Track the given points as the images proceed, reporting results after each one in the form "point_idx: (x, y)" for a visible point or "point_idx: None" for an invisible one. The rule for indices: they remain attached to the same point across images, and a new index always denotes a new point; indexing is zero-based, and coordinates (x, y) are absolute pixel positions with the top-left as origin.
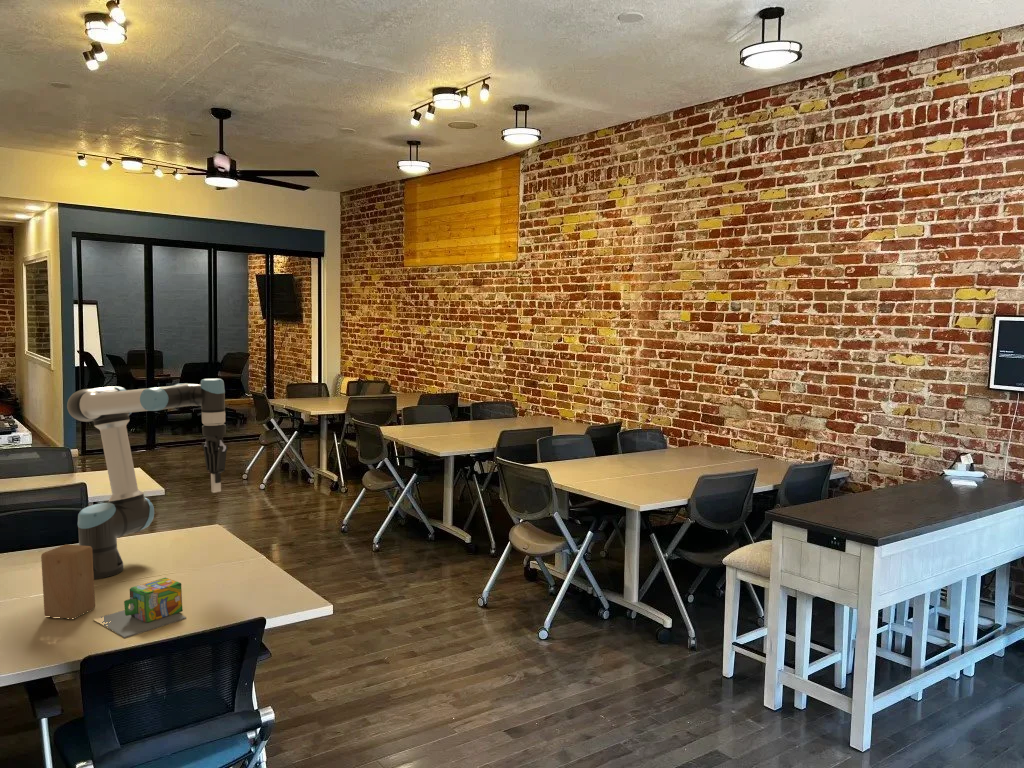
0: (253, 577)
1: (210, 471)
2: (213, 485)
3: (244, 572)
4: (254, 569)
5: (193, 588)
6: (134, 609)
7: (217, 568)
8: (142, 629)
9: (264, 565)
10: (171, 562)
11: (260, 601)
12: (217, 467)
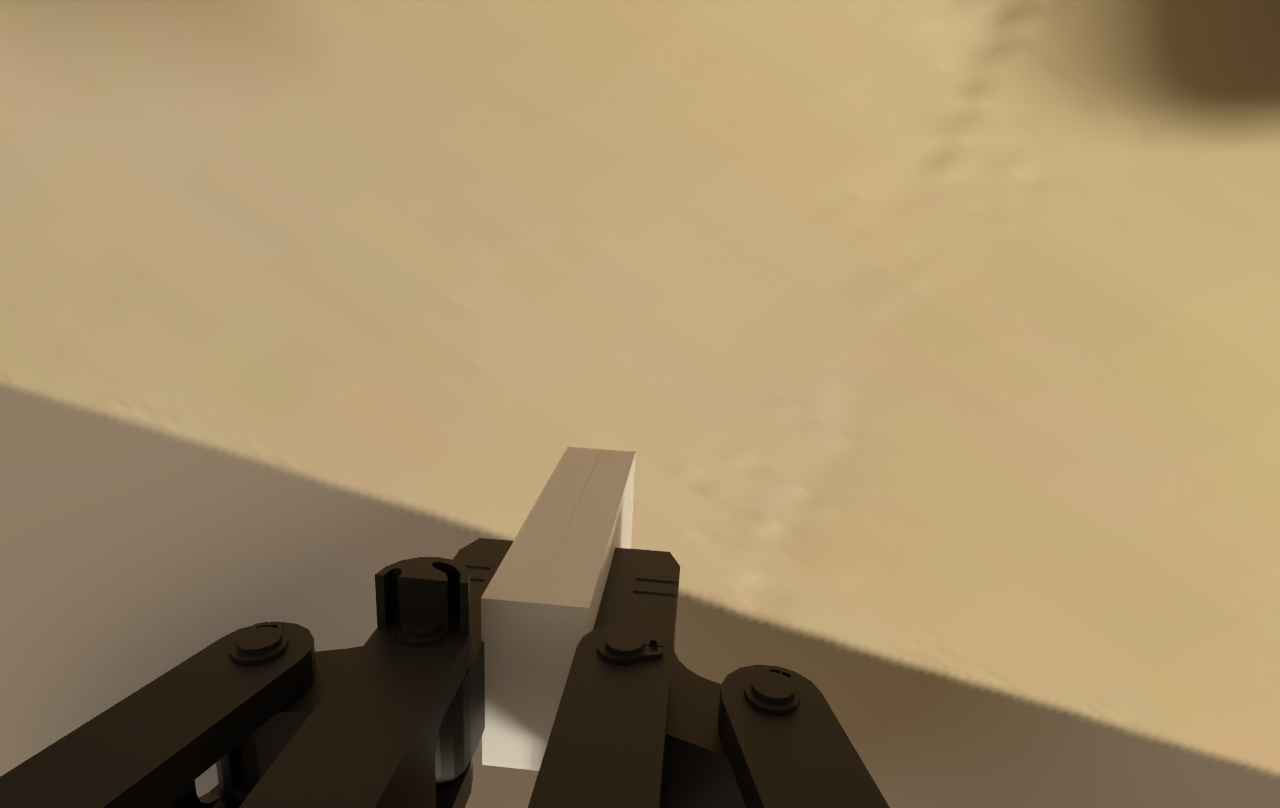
0: (478, 397)
1: (606, 643)
2: (543, 489)
3: (589, 419)
4: None
5: (580, 84)
6: None
7: (778, 375)
8: None
9: None
10: (1139, 277)
11: (131, 194)
12: (163, 713)
